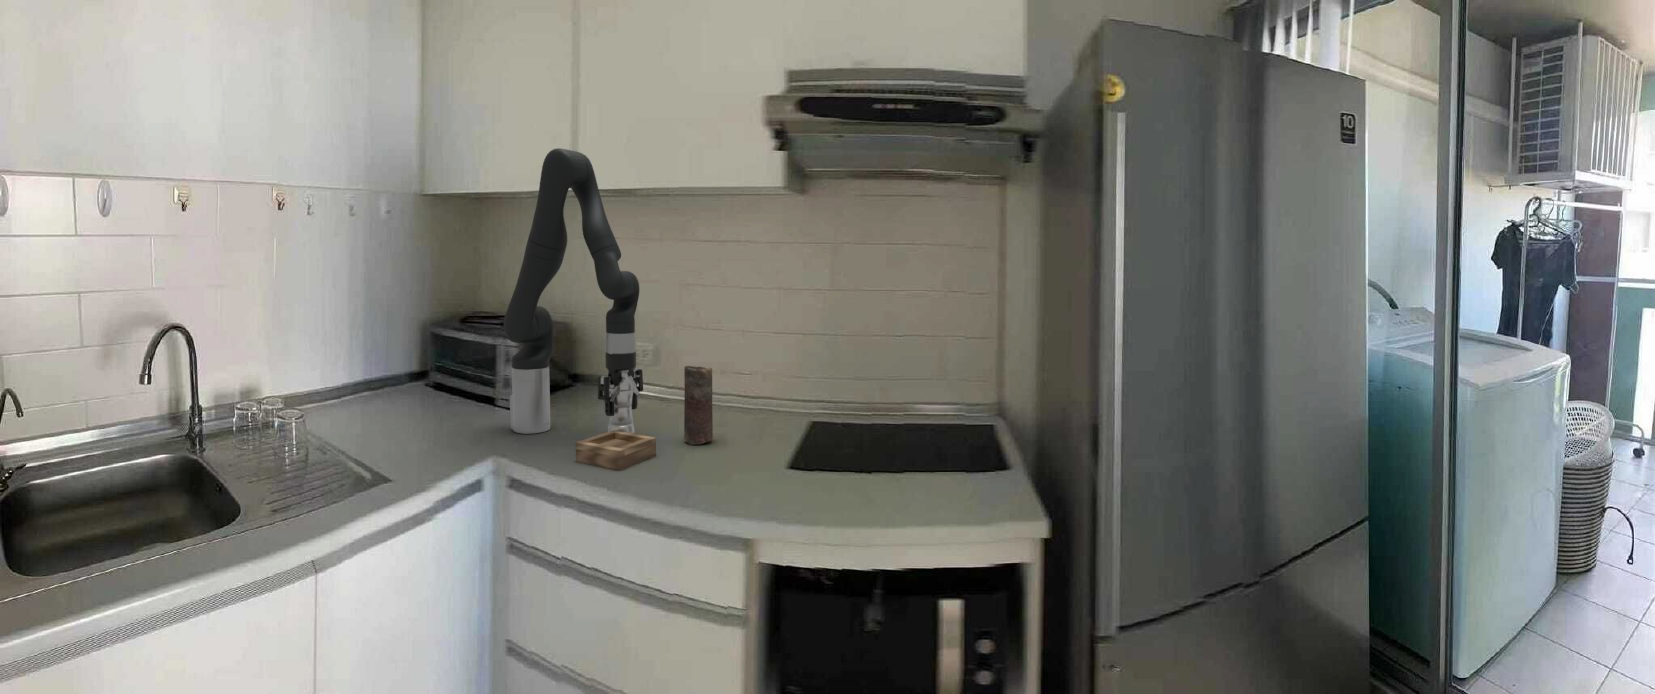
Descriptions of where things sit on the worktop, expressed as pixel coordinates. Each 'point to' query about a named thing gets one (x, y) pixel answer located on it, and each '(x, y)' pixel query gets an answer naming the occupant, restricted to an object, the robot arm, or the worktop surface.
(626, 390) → the plastic bottle
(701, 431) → the candle
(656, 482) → the worktop surface
